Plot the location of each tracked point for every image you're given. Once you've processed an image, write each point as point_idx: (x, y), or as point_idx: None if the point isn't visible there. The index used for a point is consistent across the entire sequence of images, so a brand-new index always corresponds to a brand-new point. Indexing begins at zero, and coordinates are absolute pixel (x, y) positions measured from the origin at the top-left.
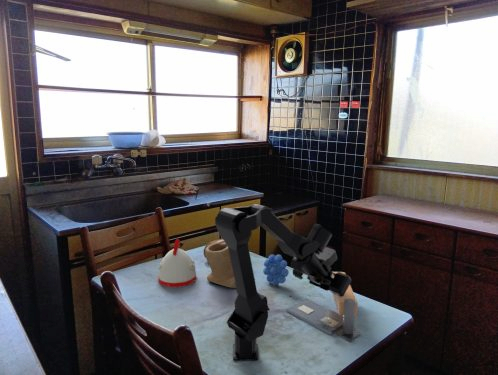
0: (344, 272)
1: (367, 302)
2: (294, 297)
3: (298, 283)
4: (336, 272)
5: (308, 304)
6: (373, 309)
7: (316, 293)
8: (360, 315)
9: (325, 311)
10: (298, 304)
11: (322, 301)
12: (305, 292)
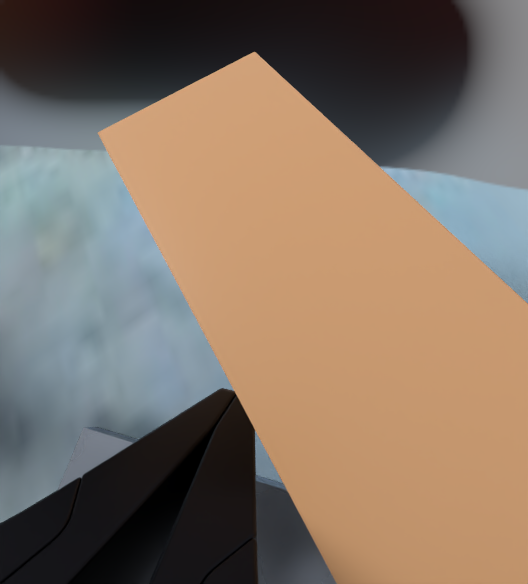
0: (255, 57)
1: (426, 201)
2: (7, 425)
3: (4, 245)
4: (175, 104)
5: None
6: (506, 252)
7: (126, 286)
8: None
9: (278, 558)
10: None
11: (191, 358)
12: (62, 316)
